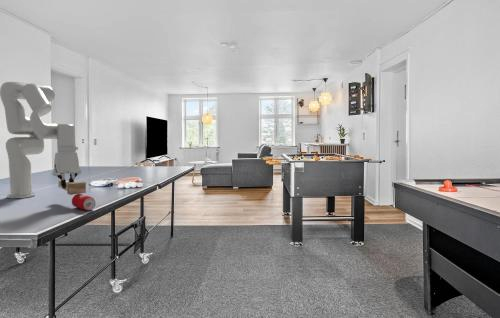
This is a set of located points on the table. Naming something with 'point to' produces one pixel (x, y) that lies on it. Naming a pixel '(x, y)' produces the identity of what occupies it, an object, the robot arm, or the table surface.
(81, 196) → the beverage can
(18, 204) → the table surface
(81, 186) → the curved plank on base
